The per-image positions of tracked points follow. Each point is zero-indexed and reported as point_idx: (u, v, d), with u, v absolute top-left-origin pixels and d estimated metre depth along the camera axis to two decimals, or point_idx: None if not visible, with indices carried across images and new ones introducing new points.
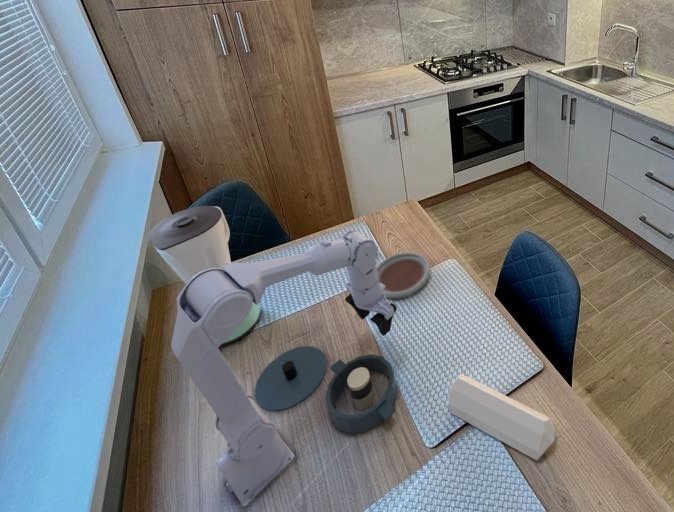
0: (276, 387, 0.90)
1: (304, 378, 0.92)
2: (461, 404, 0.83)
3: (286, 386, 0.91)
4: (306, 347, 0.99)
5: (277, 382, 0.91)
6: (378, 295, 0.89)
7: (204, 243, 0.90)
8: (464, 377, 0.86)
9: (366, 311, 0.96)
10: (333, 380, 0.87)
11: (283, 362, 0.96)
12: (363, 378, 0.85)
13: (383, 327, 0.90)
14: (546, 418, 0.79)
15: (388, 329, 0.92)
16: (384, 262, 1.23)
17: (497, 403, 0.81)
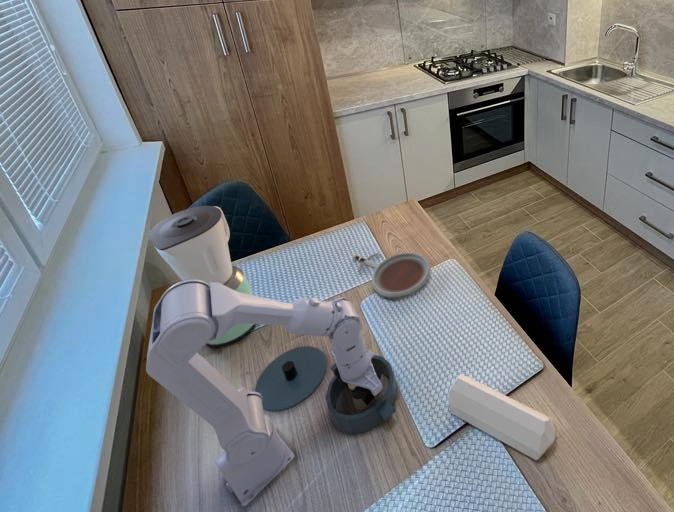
0: (276, 387, 0.90)
1: (304, 378, 0.92)
2: (461, 404, 0.83)
3: (286, 386, 0.91)
4: (306, 347, 0.99)
5: (277, 382, 0.91)
6: (365, 367, 0.82)
7: (204, 243, 0.90)
8: (464, 377, 0.86)
9: None
10: (333, 380, 0.87)
11: (283, 362, 0.96)
12: None
13: (367, 396, 0.84)
14: (546, 418, 0.79)
15: (373, 397, 0.86)
16: (384, 262, 1.23)
17: (497, 403, 0.81)
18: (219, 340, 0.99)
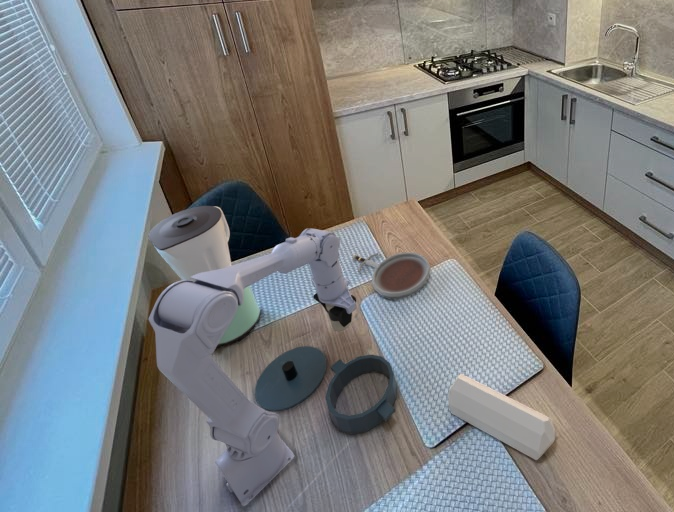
0: (276, 387, 0.90)
1: (304, 378, 0.92)
2: (461, 404, 0.83)
3: (286, 386, 0.91)
4: (306, 347, 0.99)
5: (277, 382, 0.91)
6: (341, 290, 0.90)
7: (204, 243, 0.90)
8: (464, 377, 0.86)
9: None
10: (333, 380, 0.87)
11: (283, 362, 0.96)
12: None
13: (343, 318, 0.92)
14: (546, 418, 0.79)
15: (349, 320, 0.94)
16: (384, 262, 1.23)
17: (497, 403, 0.81)
18: None
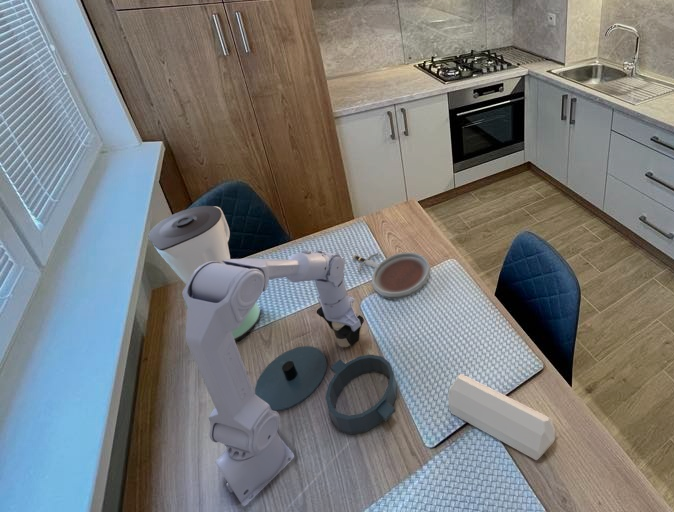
0: (276, 387, 0.90)
1: (304, 378, 0.92)
2: (461, 404, 0.83)
3: (286, 386, 0.91)
4: (306, 347, 0.99)
5: (277, 382, 0.91)
6: (346, 308, 0.95)
7: (204, 243, 0.90)
8: (464, 377, 0.86)
9: None
10: (333, 380, 0.87)
11: (283, 362, 0.96)
12: None
13: (351, 338, 0.97)
14: (546, 418, 0.79)
15: (357, 339, 0.99)
16: (384, 262, 1.23)
17: (497, 403, 0.81)
18: None
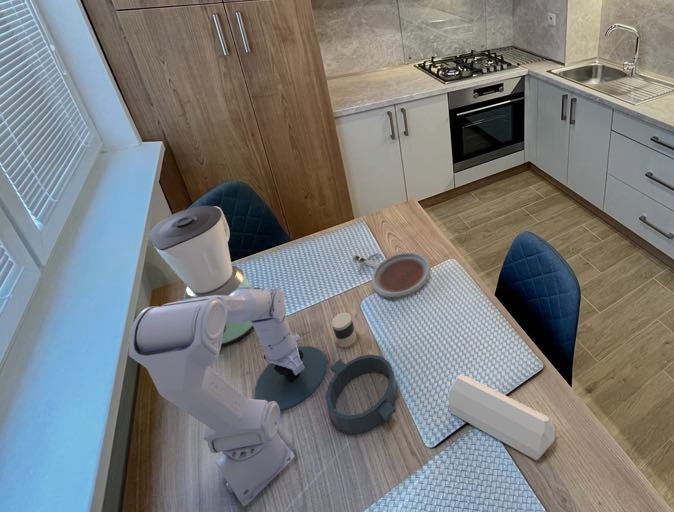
0: (276, 387, 0.90)
1: (304, 378, 0.92)
2: (461, 404, 0.83)
3: (286, 386, 0.91)
4: (306, 347, 0.99)
5: (277, 382, 0.91)
6: (288, 349, 0.87)
7: (204, 243, 0.90)
8: (464, 377, 0.86)
9: None
10: (333, 380, 0.87)
11: None
12: (346, 320, 0.98)
13: (290, 374, 0.90)
14: (546, 418, 0.79)
15: (297, 375, 0.92)
16: (384, 262, 1.23)
17: (497, 403, 0.81)
18: None
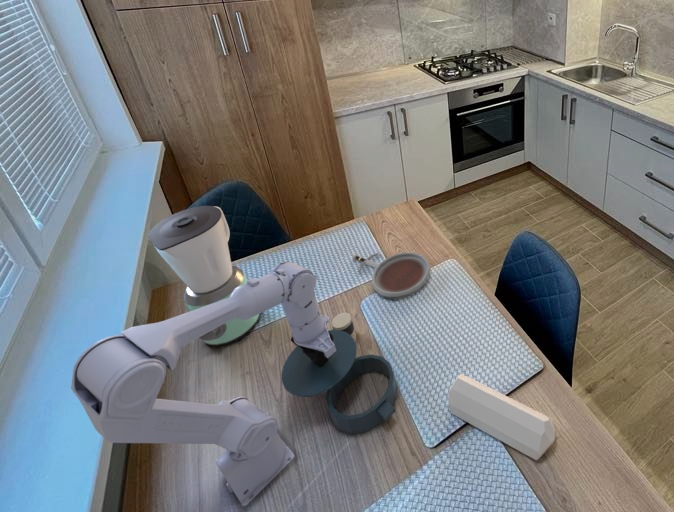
0: (304, 372, 0.84)
1: (334, 362, 0.86)
2: (461, 404, 0.83)
3: (315, 371, 0.84)
4: (333, 331, 0.93)
5: (305, 367, 0.85)
6: (318, 330, 0.81)
7: (204, 243, 0.90)
8: (464, 377, 0.86)
9: None
10: None
11: None
12: (346, 320, 0.98)
13: (319, 358, 0.84)
14: (546, 418, 0.79)
15: (326, 360, 0.85)
16: (384, 262, 1.23)
17: (497, 403, 0.81)
18: (219, 340, 0.99)
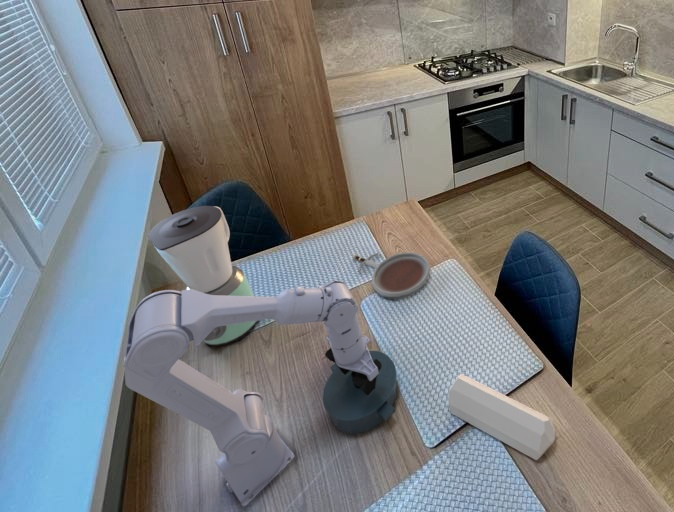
0: (345, 395, 0.84)
1: None
2: (461, 404, 0.83)
3: (356, 394, 0.84)
4: (371, 351, 0.92)
5: (345, 390, 0.85)
6: (360, 352, 0.80)
7: (204, 243, 0.90)
8: (464, 377, 0.86)
9: None
10: None
11: None
12: None
13: (367, 386, 0.82)
14: (546, 418, 0.79)
15: (373, 387, 0.83)
16: (384, 262, 1.23)
17: (497, 403, 0.81)
18: (219, 340, 0.99)
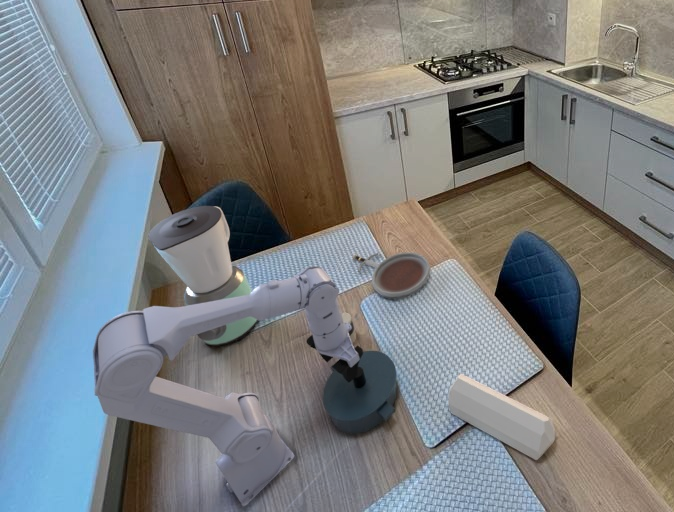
0: (345, 395, 0.84)
1: (374, 385, 0.85)
2: (461, 404, 0.83)
3: (356, 394, 0.84)
4: (371, 351, 0.92)
5: (345, 390, 0.85)
6: (341, 338, 0.79)
7: (204, 243, 0.90)
8: (464, 377, 0.86)
9: None
10: None
11: None
12: (346, 320, 0.98)
13: (348, 373, 0.81)
14: (546, 418, 0.79)
15: (355, 374, 0.82)
16: (384, 262, 1.23)
17: (497, 403, 0.81)
18: (219, 340, 0.99)
